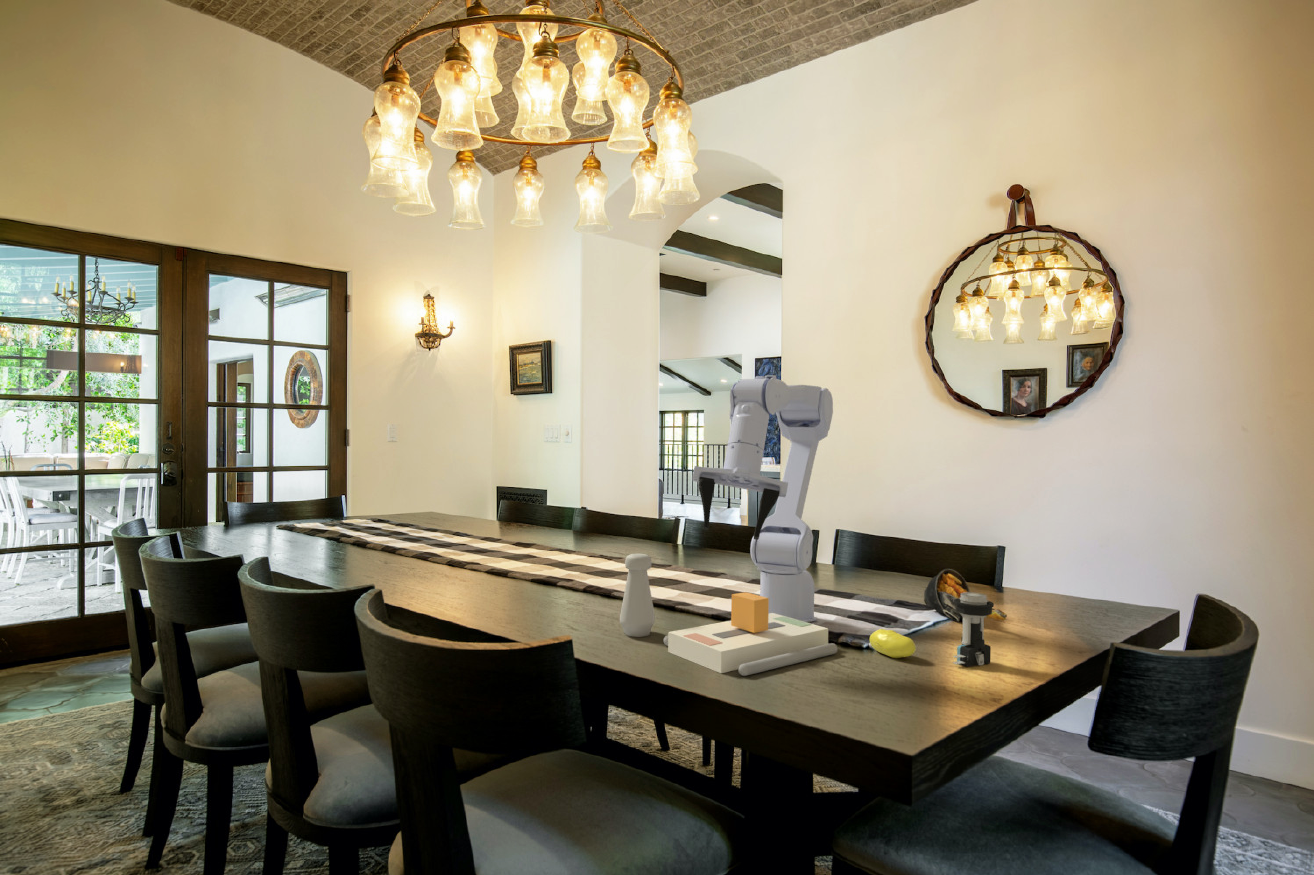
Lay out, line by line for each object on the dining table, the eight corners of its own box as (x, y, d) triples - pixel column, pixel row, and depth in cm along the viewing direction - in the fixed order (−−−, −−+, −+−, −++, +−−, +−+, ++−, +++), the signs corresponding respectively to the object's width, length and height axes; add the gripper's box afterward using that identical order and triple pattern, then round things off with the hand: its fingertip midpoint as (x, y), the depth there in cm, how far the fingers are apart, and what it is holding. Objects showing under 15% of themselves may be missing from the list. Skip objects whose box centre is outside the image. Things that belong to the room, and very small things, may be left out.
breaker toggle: (745, 622, 116) (745, 592, 116) (768, 629, 112) (768, 598, 112) (731, 625, 114) (731, 594, 114) (753, 632, 110) (754, 600, 110)
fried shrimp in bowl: (947, 582, 145) (1028, 567, 130) (945, 637, 140) (1029, 629, 125) (912, 566, 142) (991, 549, 127) (908, 623, 137) (990, 612, 122)
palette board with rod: (753, 627, 127) (753, 617, 127) (839, 654, 112) (839, 643, 112) (661, 645, 115) (661, 635, 115) (743, 678, 100) (743, 666, 100)
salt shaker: (650, 639, 118) (651, 558, 118) (615, 637, 119) (616, 556, 119) (657, 630, 124) (659, 552, 124) (624, 627, 125) (625, 550, 125)
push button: (969, 672, 104) (971, 601, 104) (938, 662, 108) (939, 593, 108) (1000, 666, 107) (1001, 596, 107) (969, 656, 112) (970, 589, 112)
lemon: (882, 647, 116) (882, 622, 116) (922, 661, 109) (922, 635, 109) (862, 650, 114) (862, 625, 114) (901, 665, 107) (902, 638, 107)
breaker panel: (772, 630, 125) (772, 612, 125) (827, 647, 115) (828, 627, 115) (668, 651, 112) (668, 631, 112) (720, 673, 102) (721, 650, 102)
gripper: (700, 432, 113) (683, 518, 109) (794, 449, 112) (782, 536, 107) (699, 447, 120) (683, 528, 115) (788, 463, 118) (776, 546, 114)
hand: (730, 533), depth 112 cm, fingers open, 7 cm apart
